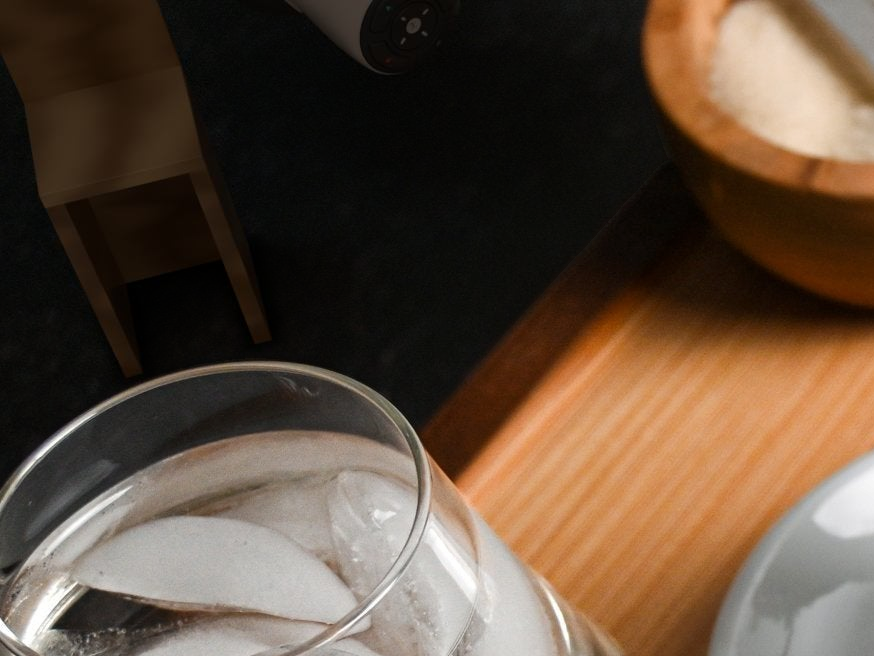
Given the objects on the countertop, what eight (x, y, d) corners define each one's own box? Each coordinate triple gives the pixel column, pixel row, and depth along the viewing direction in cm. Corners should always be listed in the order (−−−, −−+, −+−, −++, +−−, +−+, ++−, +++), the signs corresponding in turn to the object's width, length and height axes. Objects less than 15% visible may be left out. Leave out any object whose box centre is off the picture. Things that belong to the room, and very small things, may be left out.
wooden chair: (128, 385, 130) (-60, -10, 105) (110, 287, 135) (-73, -112, 110) (274, 347, 131) (123, -52, 106) (251, 252, 137) (101, -151, 111)
